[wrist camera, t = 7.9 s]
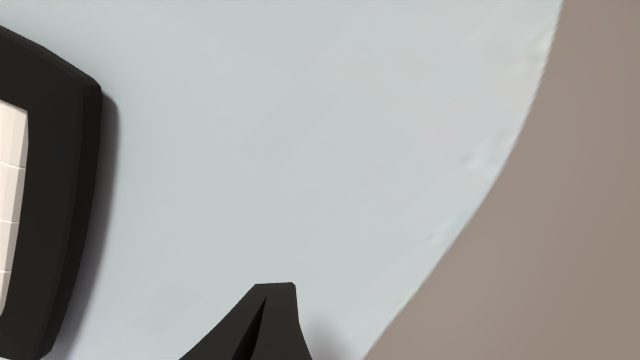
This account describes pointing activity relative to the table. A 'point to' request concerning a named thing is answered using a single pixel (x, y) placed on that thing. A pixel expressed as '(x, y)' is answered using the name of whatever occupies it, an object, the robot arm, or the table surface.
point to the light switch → (42, 189)
